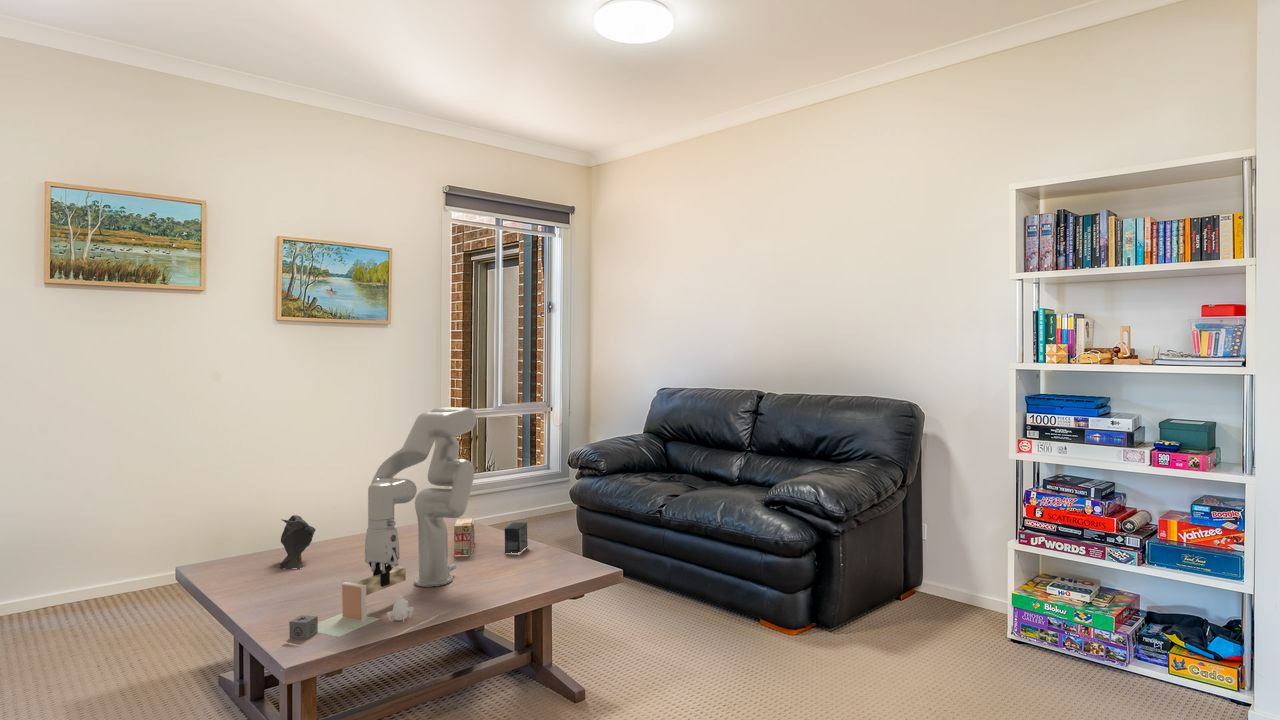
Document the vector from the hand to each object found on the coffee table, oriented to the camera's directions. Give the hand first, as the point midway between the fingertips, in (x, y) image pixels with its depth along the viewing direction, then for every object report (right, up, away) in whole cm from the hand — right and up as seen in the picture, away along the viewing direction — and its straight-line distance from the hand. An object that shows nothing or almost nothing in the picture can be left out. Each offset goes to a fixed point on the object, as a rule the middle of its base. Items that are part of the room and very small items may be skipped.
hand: (381, 584), depth 219 cm
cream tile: (-4, -7, -10) cm, 13 cm away
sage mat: (-6, -7, -14) cm, 17 cm away
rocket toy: (+9, -8, -11) cm, 16 cm away
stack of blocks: (+9, -8, +69) cm, 70 cm away
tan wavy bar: (0, -1, 0) cm, 1 cm away
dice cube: (-13, -8, -22) cm, 27 cm away
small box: (+30, -8, +65) cm, 72 cm away
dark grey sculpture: (-51, -8, +52) cm, 73 cm away
